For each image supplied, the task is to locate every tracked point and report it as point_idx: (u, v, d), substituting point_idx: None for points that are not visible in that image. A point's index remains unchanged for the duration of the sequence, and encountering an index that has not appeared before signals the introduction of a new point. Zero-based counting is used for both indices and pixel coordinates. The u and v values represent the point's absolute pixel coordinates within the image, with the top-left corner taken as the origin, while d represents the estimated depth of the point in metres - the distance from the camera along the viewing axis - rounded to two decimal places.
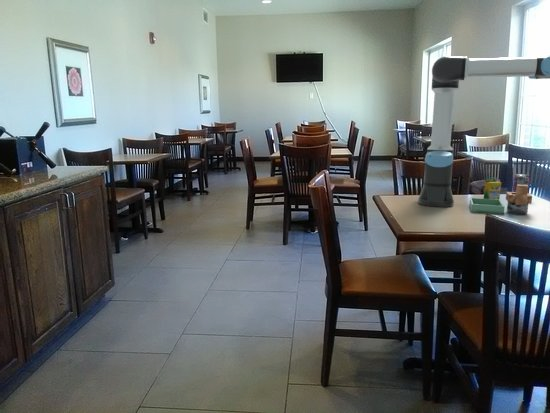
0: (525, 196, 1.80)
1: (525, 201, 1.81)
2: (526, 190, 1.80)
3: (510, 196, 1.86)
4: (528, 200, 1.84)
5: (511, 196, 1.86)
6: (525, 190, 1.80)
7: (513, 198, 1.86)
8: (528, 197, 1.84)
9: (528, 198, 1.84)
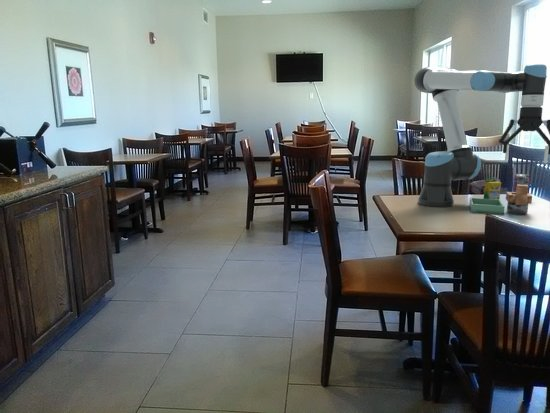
0: (525, 196, 1.80)
1: (525, 201, 1.81)
2: (526, 190, 1.80)
3: (510, 196, 1.86)
4: (528, 200, 1.84)
5: (511, 196, 1.86)
6: (525, 190, 1.80)
7: (513, 198, 1.86)
8: (528, 197, 1.84)
9: (528, 198, 1.84)
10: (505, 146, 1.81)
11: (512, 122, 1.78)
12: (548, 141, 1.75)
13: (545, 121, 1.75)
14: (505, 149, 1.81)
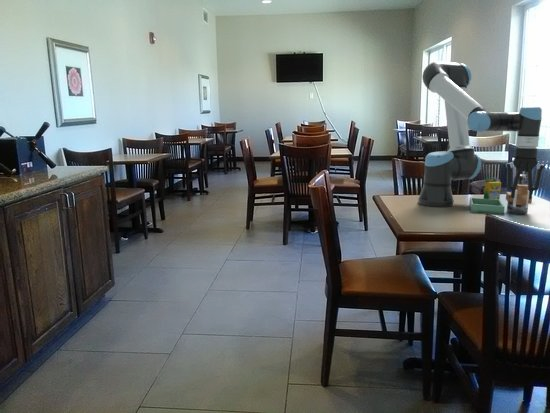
0: (525, 196, 1.80)
1: (525, 201, 1.81)
2: (526, 190, 1.80)
3: (510, 196, 1.86)
4: (528, 200, 1.84)
5: None
6: (525, 190, 1.80)
7: (513, 198, 1.86)
8: None
9: None
10: (513, 191, 1.83)
11: (509, 166, 1.81)
12: (530, 186, 1.80)
13: (539, 165, 1.78)
14: (513, 194, 1.83)
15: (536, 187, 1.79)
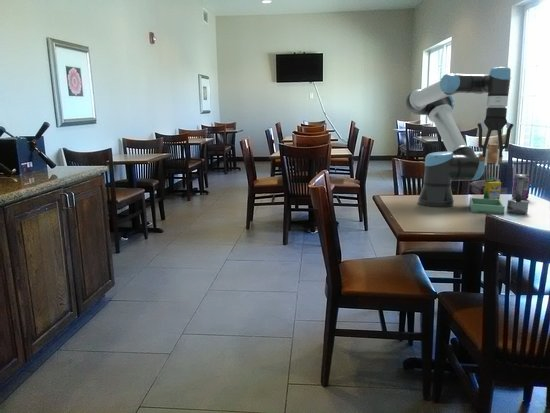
0: (495, 154, 1.87)
1: (495, 159, 1.87)
2: (496, 148, 1.87)
3: None
4: (499, 159, 1.91)
5: None
6: (495, 148, 1.87)
7: None
8: None
9: None
10: (484, 150, 1.90)
11: (480, 125, 1.88)
12: (500, 144, 1.87)
13: (509, 124, 1.85)
14: (484, 153, 1.90)
15: (506, 145, 1.86)
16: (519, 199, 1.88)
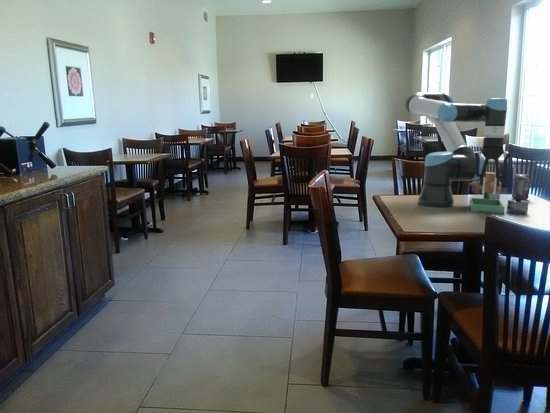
0: (492, 183, 1.89)
1: (493, 188, 1.89)
2: (493, 177, 1.89)
3: (479, 184, 1.95)
4: (496, 187, 1.93)
5: None
6: (492, 177, 1.89)
7: None
8: None
9: None
10: (482, 179, 1.92)
11: (477, 155, 1.90)
12: (498, 173, 1.89)
13: (505, 153, 1.87)
14: (482, 182, 1.92)
15: (503, 175, 1.88)
16: (519, 199, 1.88)
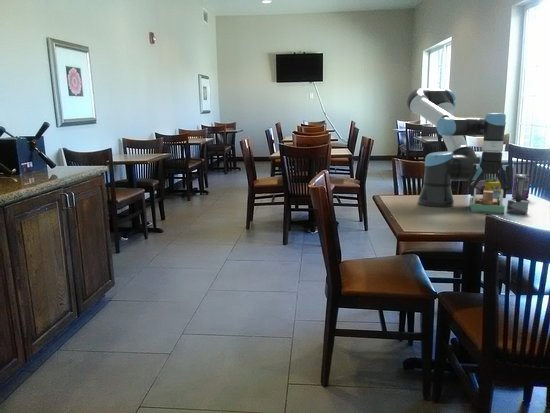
0: (490, 202, 1.91)
1: None
2: (491, 196, 1.90)
3: (477, 202, 1.97)
4: (494, 205, 1.95)
5: (478, 202, 1.97)
6: (490, 196, 1.90)
7: (480, 204, 1.96)
8: (494, 203, 1.95)
9: (494, 204, 1.95)
10: (472, 190, 1.94)
11: (475, 166, 1.92)
12: (503, 186, 1.89)
13: (504, 166, 1.88)
14: (472, 192, 1.94)
15: (509, 187, 1.88)
16: (519, 199, 1.88)
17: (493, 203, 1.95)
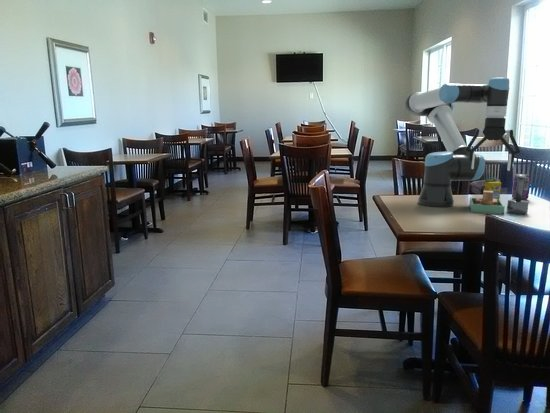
0: (490, 202, 1.91)
1: None
2: (491, 196, 1.90)
3: (477, 202, 1.97)
4: (494, 205, 1.95)
5: (478, 202, 1.97)
6: (490, 196, 1.90)
7: (480, 204, 1.96)
8: (494, 203, 1.95)
9: (494, 204, 1.95)
10: (471, 154, 1.92)
11: (477, 131, 1.89)
12: (511, 150, 1.86)
13: (508, 131, 1.86)
14: (471, 157, 1.92)
15: (517, 150, 1.85)
16: (519, 199, 1.88)
17: (493, 203, 1.95)
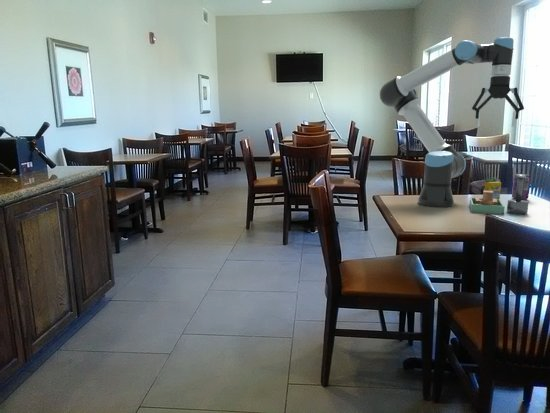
0: (490, 202, 1.91)
1: None
2: (491, 196, 1.90)
3: (477, 202, 1.97)
4: (494, 205, 1.95)
5: (478, 202, 1.97)
6: (490, 196, 1.90)
7: (480, 204, 1.96)
8: (494, 203, 1.95)
9: (494, 204, 1.95)
10: (477, 112, 2.01)
11: (483, 90, 1.98)
12: (515, 107, 1.95)
13: (512, 89, 1.95)
14: (477, 115, 2.01)
15: (521, 107, 1.94)
16: (519, 199, 1.88)
17: (493, 203, 1.95)
